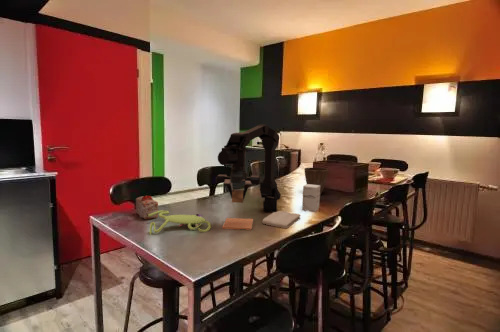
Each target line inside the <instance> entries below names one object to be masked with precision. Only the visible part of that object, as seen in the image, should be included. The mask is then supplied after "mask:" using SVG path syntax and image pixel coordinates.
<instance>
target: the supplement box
mask: <svg viewBox="0 0 500 332" xmlns="http://www.w3.org/2000/svg"><path fill="white" fill-rule="evenodd" d="M320 199H321V194H320V185H312V184H307V183H306V184H304V185H303V187H302V205H301V208H302V209H301V210H303V211H311V212H314V213H315V212H317V211H318V210H319V209H320Z"/></svg>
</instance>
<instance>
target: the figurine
mask: <svg viewBox="0 0 500 332" xmlns="http://www.w3.org/2000/svg"><path fill="white" fill-rule="evenodd" d="M155 214H158V217H159V218H161V219H164V222H163V223H162V224H161V225H160V226H159V228H158V229H156V223H155V221H151V222H150V224H149V225H150V226H149V235H150V236H151V235H152V230H153V232H154V234H157V233H160V232H161V231H162V230H163V229H164V228H165V227H166V226H167V224H168V223H169V222H170V223H174V224H179V225H178V227H181V226H184V225H187V227H188V229H189V230H196V229H197V230H198V231H199V232H200V233H206V232H209V231H210V229H211V228H212V224H211V222H210V221H208V220H206V218H204V217H203V214H200V213H196V214H172V215H169V214H170V212H169V210H165V209H164V210H162V209H161V210H158V211H157V212H154V213H151V214H149V215H148V217H150V216H153V215H155ZM202 224H207V228H206V229H201V228H200V226H201V225H202ZM193 226H194V227H193ZM152 228H153V229H152Z"/></svg>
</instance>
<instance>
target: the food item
mask: <svg viewBox="0 0 500 332" xmlns="http://www.w3.org/2000/svg"><path fill="white" fill-rule="evenodd" d="M157 211H159V202H158V201H156V200H154V198H153V197H152V196H151V195H144V196H139V197H136V198H135V213H136V214H137V215H139V218H140V219H141V218H142V219H144V220H152V219H153V220H154V219H158V217H159V213H158V214H155V215H153V216H150V217H148V215H149V214H151V213H154V212H157Z"/></svg>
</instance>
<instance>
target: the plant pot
mask: <svg viewBox="0 0 500 332" xmlns="http://www.w3.org/2000/svg"><path fill="white" fill-rule="evenodd" d="M328 173H329V169H328V168H325V167H305V168H304V176H305V183H306V184H312V185H320V195H322V192H323V191H324V187H325V186H326V183H327V178H328Z"/></svg>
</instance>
